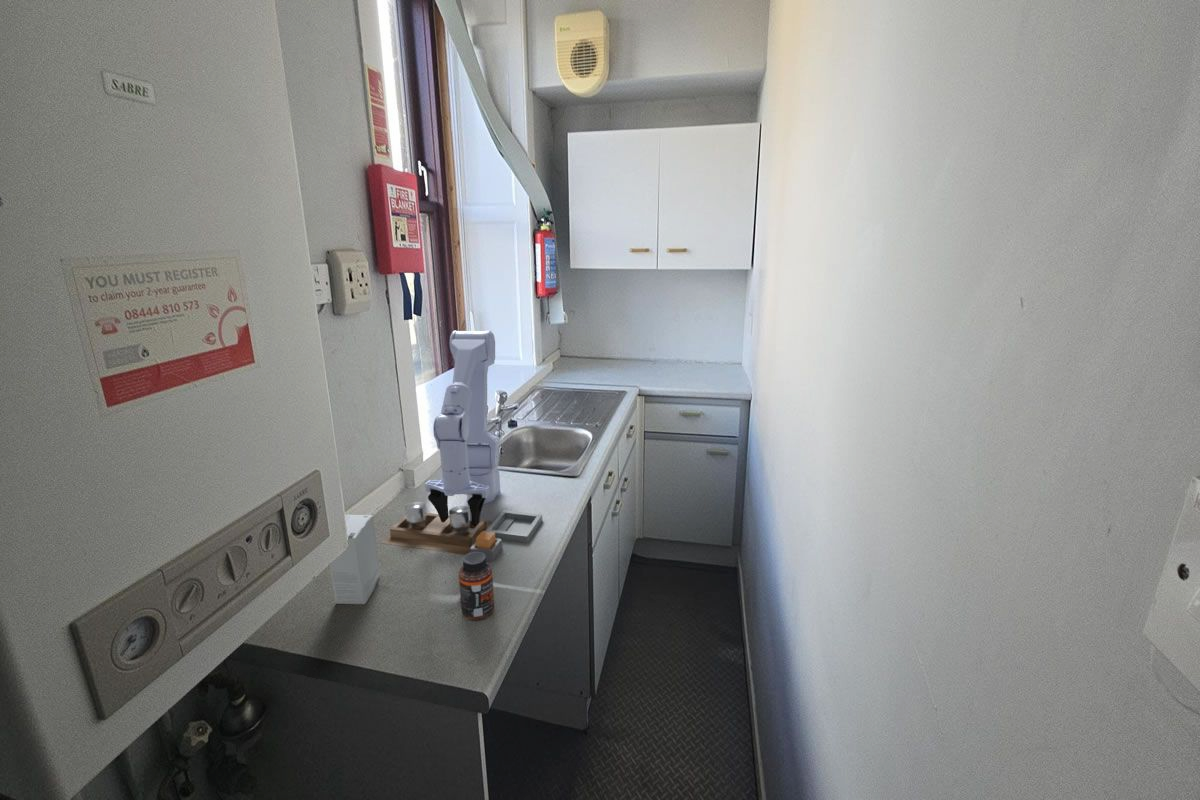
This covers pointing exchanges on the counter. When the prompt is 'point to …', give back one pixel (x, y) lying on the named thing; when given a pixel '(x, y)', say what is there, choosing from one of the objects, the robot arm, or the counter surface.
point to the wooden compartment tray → (435, 535)
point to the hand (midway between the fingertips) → (460, 522)
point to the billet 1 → (416, 515)
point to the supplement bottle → (476, 587)
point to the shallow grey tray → (516, 526)
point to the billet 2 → (460, 521)
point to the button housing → (489, 550)
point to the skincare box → (356, 562)
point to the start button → (485, 540)
